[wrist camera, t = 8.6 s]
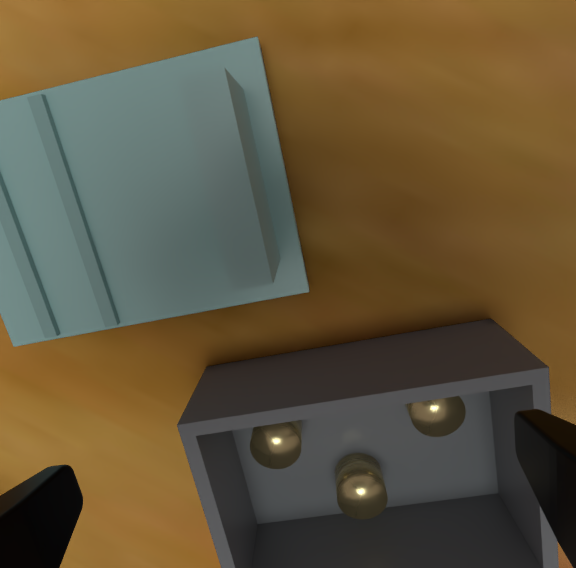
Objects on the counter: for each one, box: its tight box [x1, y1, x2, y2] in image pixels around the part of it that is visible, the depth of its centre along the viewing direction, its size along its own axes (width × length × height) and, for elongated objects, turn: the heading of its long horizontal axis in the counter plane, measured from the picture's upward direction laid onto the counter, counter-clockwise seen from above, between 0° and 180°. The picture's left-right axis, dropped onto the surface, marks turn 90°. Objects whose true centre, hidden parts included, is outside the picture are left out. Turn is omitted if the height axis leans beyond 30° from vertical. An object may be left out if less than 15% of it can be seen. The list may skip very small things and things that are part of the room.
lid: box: [0, 37, 309, 346], centre depth 17 cm, size 14×10×6 cm
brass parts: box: [250, 396, 466, 520], centre depth 21 cm, size 10×6×2 cm, turn 102°
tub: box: [177, 319, 559, 568], centre depth 20 cm, size 14×10×5 cm
